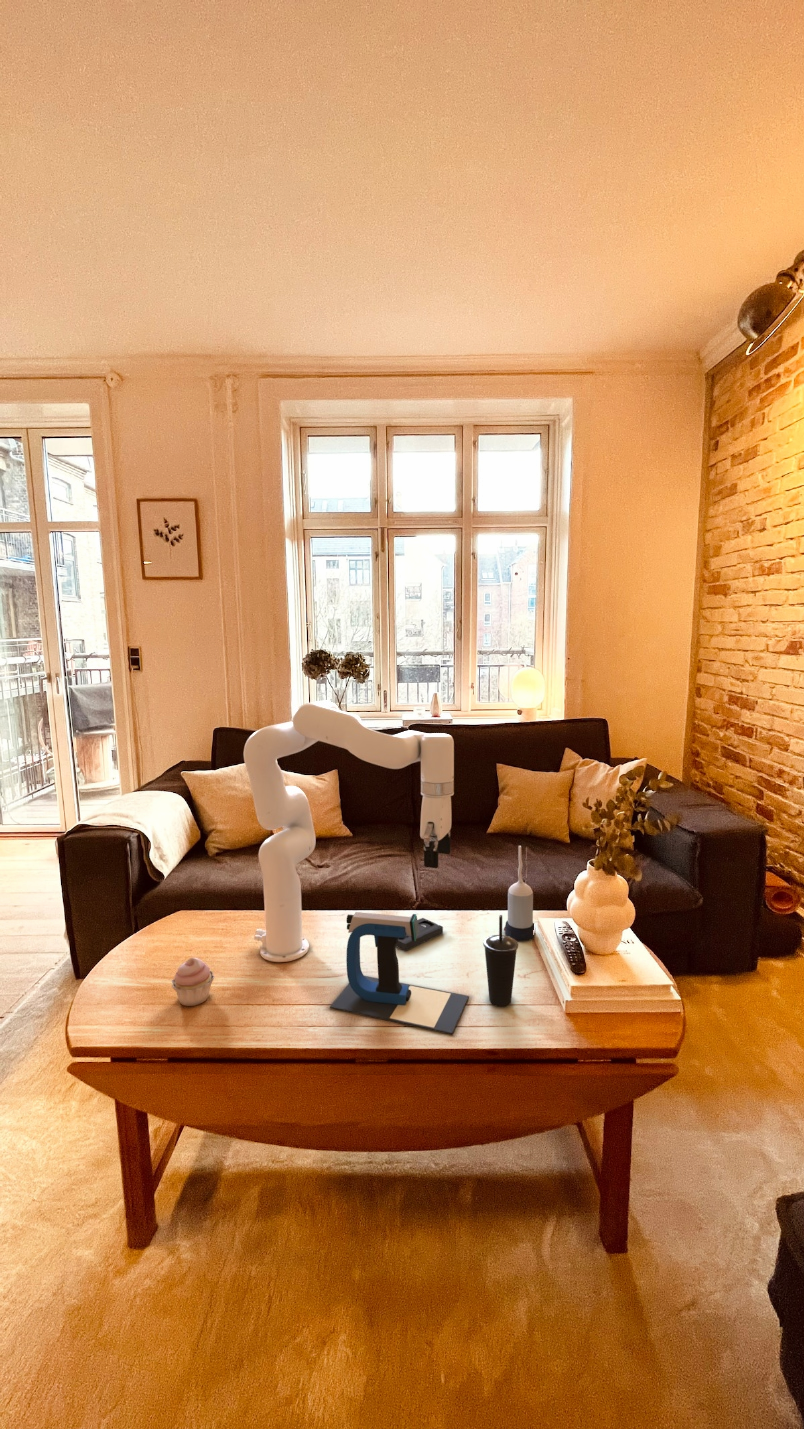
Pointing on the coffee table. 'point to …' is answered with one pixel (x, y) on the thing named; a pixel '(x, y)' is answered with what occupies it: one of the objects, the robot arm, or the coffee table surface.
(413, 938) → the handheld scanner
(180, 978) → the cupcake
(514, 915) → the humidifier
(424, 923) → the vhs tape
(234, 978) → the coffee table surface
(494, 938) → the drinking cup
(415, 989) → the mat
